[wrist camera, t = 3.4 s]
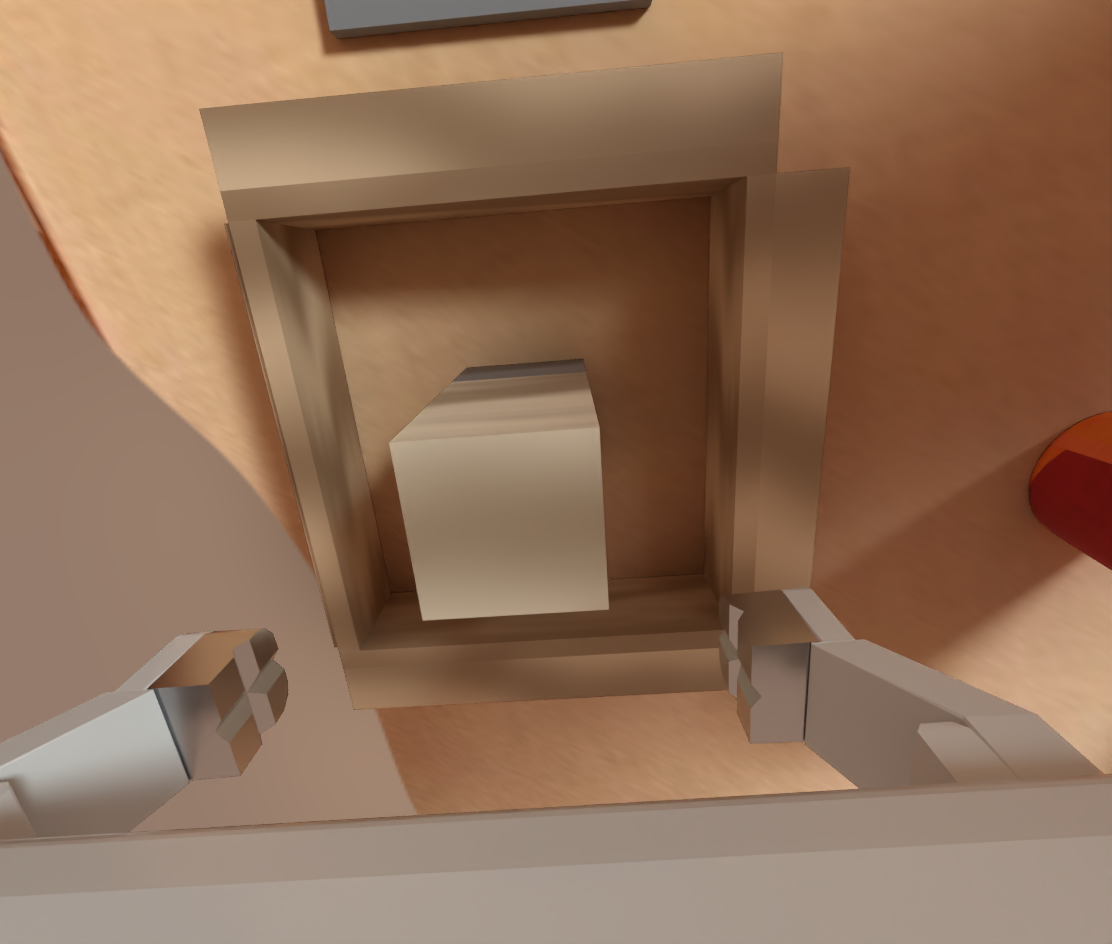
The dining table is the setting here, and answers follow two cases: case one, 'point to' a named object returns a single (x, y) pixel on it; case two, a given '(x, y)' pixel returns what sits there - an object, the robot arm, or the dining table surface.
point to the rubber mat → (452, 13)
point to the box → (505, 494)
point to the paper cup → (1078, 487)
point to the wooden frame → (525, 186)
